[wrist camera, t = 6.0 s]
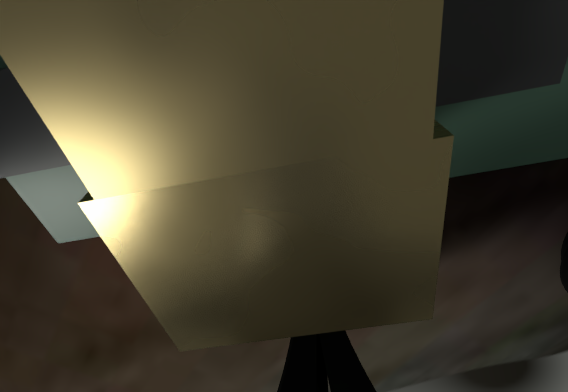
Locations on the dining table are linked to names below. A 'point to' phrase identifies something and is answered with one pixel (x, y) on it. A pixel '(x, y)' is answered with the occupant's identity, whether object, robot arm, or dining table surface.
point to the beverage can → (564, 263)
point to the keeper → (250, 153)
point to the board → (448, 112)
